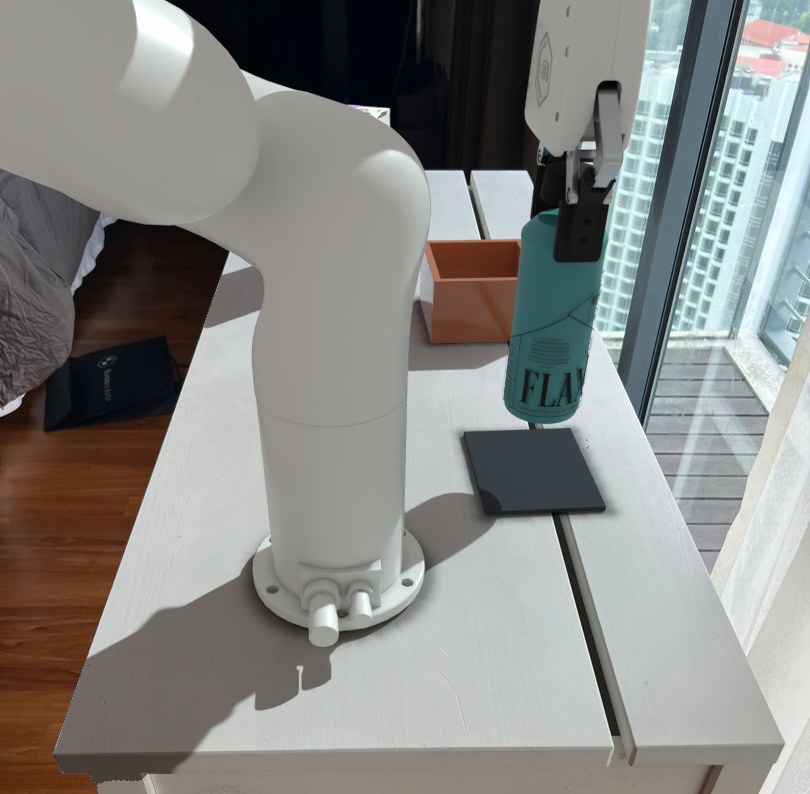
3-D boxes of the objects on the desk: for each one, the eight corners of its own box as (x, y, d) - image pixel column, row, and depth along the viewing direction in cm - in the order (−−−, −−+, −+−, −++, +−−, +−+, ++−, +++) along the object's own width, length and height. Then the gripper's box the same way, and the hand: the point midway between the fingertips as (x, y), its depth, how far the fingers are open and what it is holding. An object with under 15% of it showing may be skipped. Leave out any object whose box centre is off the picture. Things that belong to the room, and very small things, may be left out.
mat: (605, 510, 69) (606, 506, 69) (485, 515, 68) (485, 511, 68) (569, 431, 78) (570, 427, 78) (463, 435, 77) (463, 431, 77)
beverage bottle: (504, 441, 67) (534, 181, 54) (494, 399, 72) (519, 151, 59) (585, 441, 67) (633, 182, 54) (569, 399, 72) (611, 152, 60)
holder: (536, 341, 92) (544, 279, 87) (431, 343, 91) (433, 281, 86) (515, 296, 101) (521, 238, 96) (419, 298, 100) (421, 240, 95)
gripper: (513, -79, 55) (490, 201, 66) (580, -52, 42) (537, 292, 53) (624, -77, 56) (582, 200, 67) (726, -50, 42) (652, 290, 54)
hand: (563, 238), depth 60 cm, fingers closed on beverage bottle, 6 cm apart
